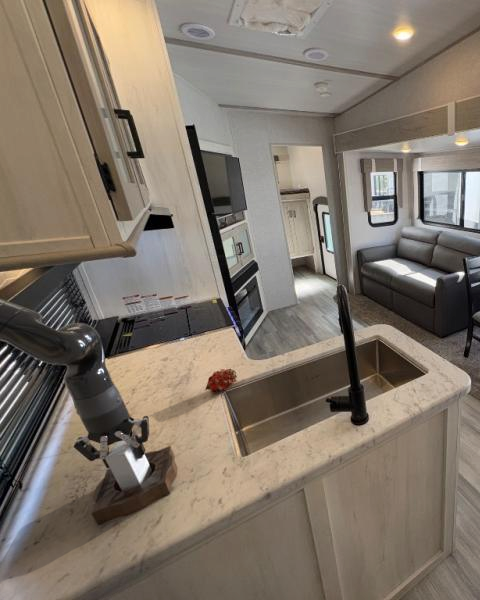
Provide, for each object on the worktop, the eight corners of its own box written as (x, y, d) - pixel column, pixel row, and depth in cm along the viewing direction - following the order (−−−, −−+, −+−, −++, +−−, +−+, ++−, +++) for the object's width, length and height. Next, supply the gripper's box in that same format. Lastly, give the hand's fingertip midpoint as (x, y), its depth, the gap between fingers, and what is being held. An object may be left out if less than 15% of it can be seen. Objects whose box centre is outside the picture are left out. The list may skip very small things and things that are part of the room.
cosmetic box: (133, 475, 82) (117, 440, 78) (152, 470, 83) (137, 435, 79) (122, 495, 76) (103, 458, 72) (142, 489, 78) (125, 453, 73)
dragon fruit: (242, 383, 125) (213, 403, 116) (229, 369, 126) (199, 388, 118) (242, 374, 119) (211, 394, 110) (228, 359, 120) (197, 378, 112)
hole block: (91, 531, 70) (83, 519, 69) (108, 479, 83) (103, 468, 82) (174, 494, 77) (169, 483, 76) (179, 452, 90) (174, 442, 89)
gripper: (142, 387, 78) (164, 439, 84) (65, 409, 71) (94, 464, 77) (137, 403, 72) (160, 458, 77) (52, 428, 65) (85, 487, 71)
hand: (127, 461), depth 77 cm, fingers closed on cosmetic box, 4 cm apart
